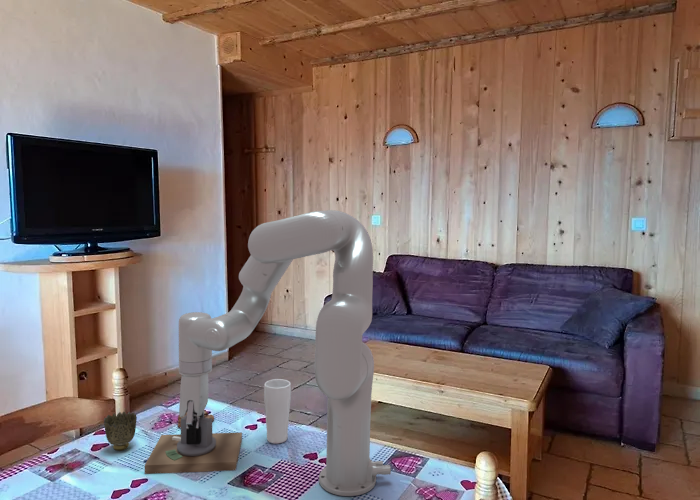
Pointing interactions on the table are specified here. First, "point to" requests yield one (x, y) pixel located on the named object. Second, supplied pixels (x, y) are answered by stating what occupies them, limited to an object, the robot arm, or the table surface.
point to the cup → (120, 429)
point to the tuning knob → (206, 439)
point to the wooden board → (173, 462)
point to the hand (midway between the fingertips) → (195, 438)
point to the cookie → (204, 417)
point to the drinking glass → (277, 409)
